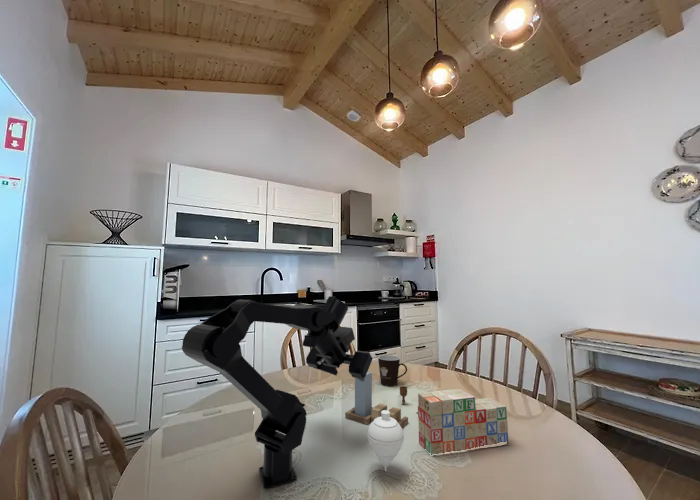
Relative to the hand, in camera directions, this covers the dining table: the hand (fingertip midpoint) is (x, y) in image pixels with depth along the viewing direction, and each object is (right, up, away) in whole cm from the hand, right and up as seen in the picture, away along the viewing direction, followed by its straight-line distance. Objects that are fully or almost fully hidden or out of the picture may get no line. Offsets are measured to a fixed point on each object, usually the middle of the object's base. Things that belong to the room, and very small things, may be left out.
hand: (349, 376), depth 84 cm
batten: (+4, -14, +5) cm, 15 cm away
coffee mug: (+16, -17, +32) cm, 40 cm away
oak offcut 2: (+12, -13, -1) cm, 18 cm away
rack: (+8, -14, +2) cm, 16 cm away
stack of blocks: (+28, -13, -10) cm, 33 cm away
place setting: (+28, -16, +11) cm, 34 cm away
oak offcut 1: (+9, -14, +2) cm, 16 cm away
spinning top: (+8, -11, -21) cm, 25 cm away
